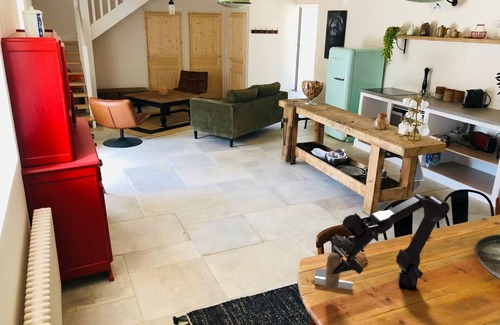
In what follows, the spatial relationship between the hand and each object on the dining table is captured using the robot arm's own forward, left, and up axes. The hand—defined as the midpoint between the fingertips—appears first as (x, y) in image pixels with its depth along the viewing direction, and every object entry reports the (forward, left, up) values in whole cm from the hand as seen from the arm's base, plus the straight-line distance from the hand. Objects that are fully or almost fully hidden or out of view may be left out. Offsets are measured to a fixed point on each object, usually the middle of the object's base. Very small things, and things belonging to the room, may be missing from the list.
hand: (329, 269), depth 153 cm
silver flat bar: (-2, -8, -12) cm, 15 cm away
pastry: (-12, -28, -13) cm, 33 cm away
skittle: (-1, -1, -7) cm, 7 cm away
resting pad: (+3, -14, -12) cm, 19 cm away
